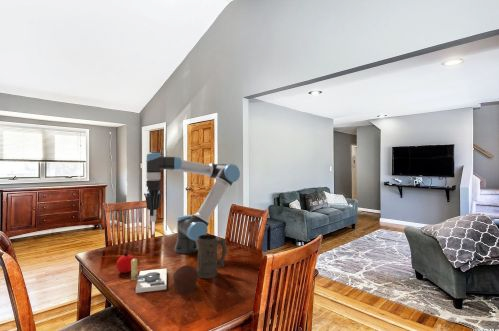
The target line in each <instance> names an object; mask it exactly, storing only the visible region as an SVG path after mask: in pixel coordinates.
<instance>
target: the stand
mask: <svg viewBox="0 0 499 331" xmlns="http://www.w3.org/2000/svg"><path fill="white" fill-rule="evenodd" d="M151 272H158V273H160V279H158V280H156V281H152V282H147V281H145V280H144V278H143V279H137V282H136V285H135V294H138V293H146V292H154V291H155V292H157V291H163V290H167V280H168V279H167V268H158V269H157V268H156V269H149V270H140V271H139V274H138V276H139V275H146V274H148V273H151Z"/></svg>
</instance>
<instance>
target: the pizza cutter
mask: <svg viewBox="0 0 499 331" xmlns="http://www.w3.org/2000/svg"><path fill="white" fill-rule="evenodd" d="M143 278H144V280H145V281H147V282H152V281H156V280H158V279H160V273H158V272H151V273H148V274H146V275H139V274H138V259H137V258H134V259H132V260H131V271H130V281H135V280H138V279H143Z"/></svg>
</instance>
